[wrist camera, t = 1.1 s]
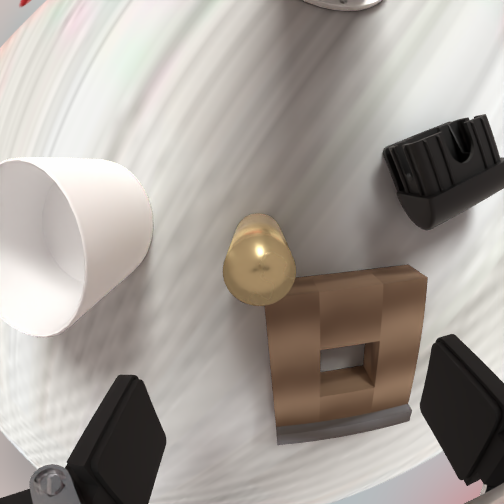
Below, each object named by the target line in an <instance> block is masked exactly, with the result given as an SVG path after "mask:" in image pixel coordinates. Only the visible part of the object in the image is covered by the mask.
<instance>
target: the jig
mask: <svg viewBox="0 0 504 504" xmlns="http://www.w3.org/2000/svg"><path fill="white" fill-rule="evenodd" d="M427 279H428V277H426V276H425V275H423V274H422V273H420V272H419V271H417V270H416V269H414V268H413V267H411V266H410V265H408V264H407V265H400V266H392V267H384V268H376V269H368V270H359V271H351V272H342V273H333V274H325V275H315V276H306V277H297V278H295V281H294V283H293V286H292V288H291V289H290V291H289V292H288V293H287V294H286V295H285V296H284V297H283V298H282V299H280V300H279V301H277V302H275V303H273V304H269V305H265V315H266V325H267V336H268V346H269V356H270V367H271V377H272V388H273V398H274V409H275V420H276V432H277V444H278V445H283V444H293V443H301V442H309V441H317V440H324V439H330V438H336V437H342V436H347V435H352V434H357V433H362V432H367V431H372V430H376V429H380V428H384V427H388V426H392V425H396V424H400V423H404V422H407V421H409V420H410V416H411V412H412V410H411V408H410V406H409V405H408V401H409V397H410V393H411V388H412V384H413V379H414V374H415V369H416V364H417V358H418V353H419V347H420V340H421V334H422V327H423V319H424V311H425V301H426V291H427ZM364 343H365V350H364V362H363V365H362V366H357V367H351V368H345V369H338V370H332V371H325V372H320V350H324V349H331V348H338V347H345V346H351V345H358V344H364Z"/></svg>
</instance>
